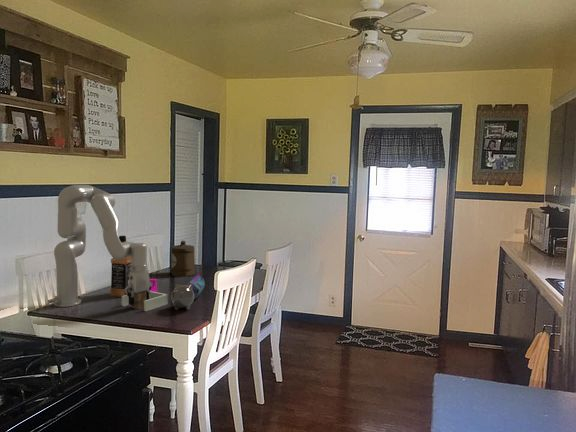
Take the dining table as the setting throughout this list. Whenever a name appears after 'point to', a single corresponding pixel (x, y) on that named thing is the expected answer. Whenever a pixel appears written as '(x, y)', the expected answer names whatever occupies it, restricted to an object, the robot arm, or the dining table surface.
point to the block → (139, 300)
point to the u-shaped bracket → (150, 300)
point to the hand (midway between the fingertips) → (138, 302)
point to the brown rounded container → (183, 260)
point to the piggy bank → (182, 296)
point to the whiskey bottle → (120, 274)
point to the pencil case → (197, 285)
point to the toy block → (154, 285)
